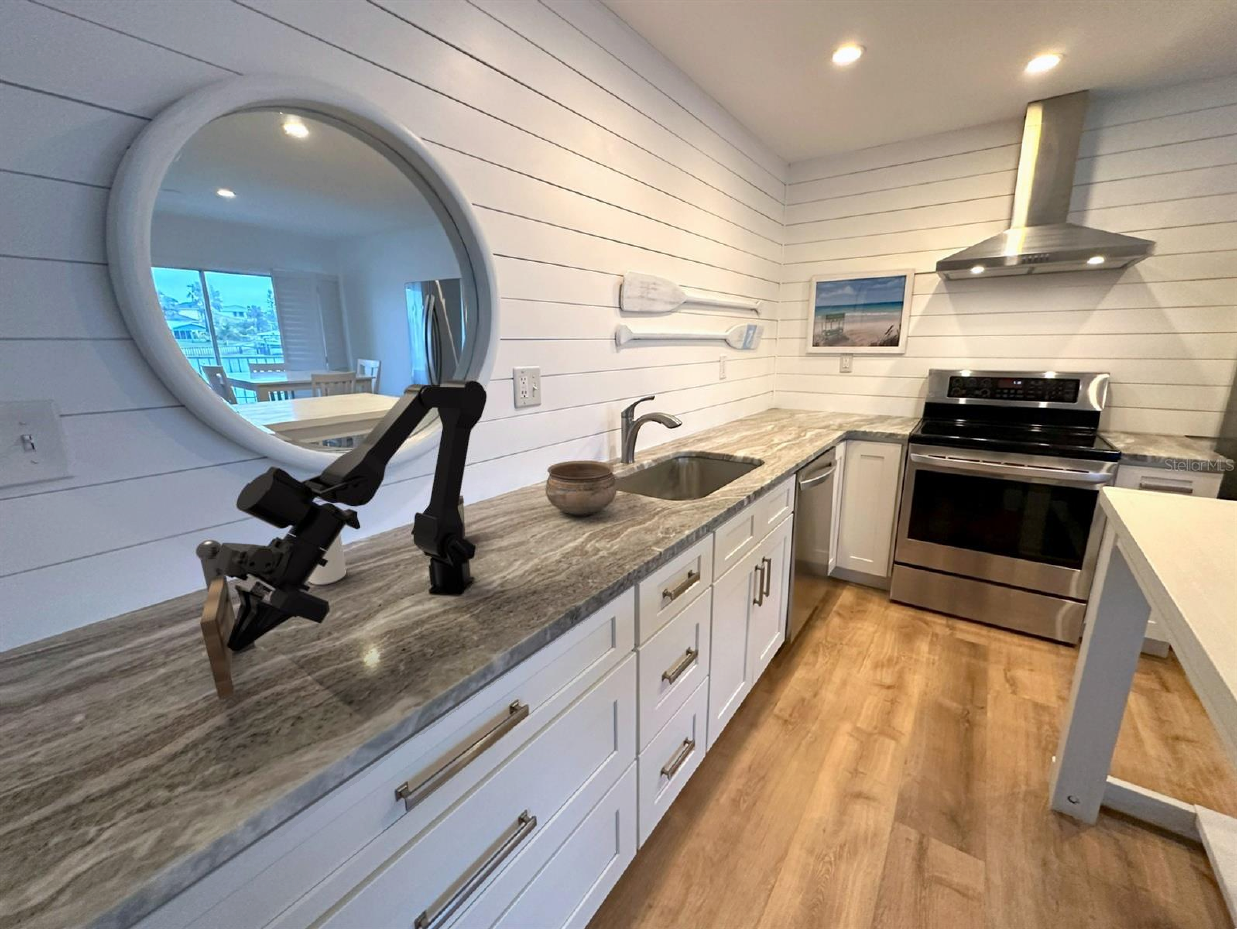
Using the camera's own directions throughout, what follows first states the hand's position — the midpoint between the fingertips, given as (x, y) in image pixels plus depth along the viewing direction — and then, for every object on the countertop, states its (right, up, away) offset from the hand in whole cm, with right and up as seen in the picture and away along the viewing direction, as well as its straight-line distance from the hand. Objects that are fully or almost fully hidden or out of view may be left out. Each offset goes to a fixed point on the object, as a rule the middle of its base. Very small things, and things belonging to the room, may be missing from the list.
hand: (232, 649), depth 65 cm
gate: (-3, -4, +4) cm, 6 cm away
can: (-7, +2, +33) cm, 34 cm away
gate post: (-9, -4, +11) cm, 15 cm away
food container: (+11, +6, +48) cm, 50 cm away
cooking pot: (+41, +11, +69) cm, 80 cm away
